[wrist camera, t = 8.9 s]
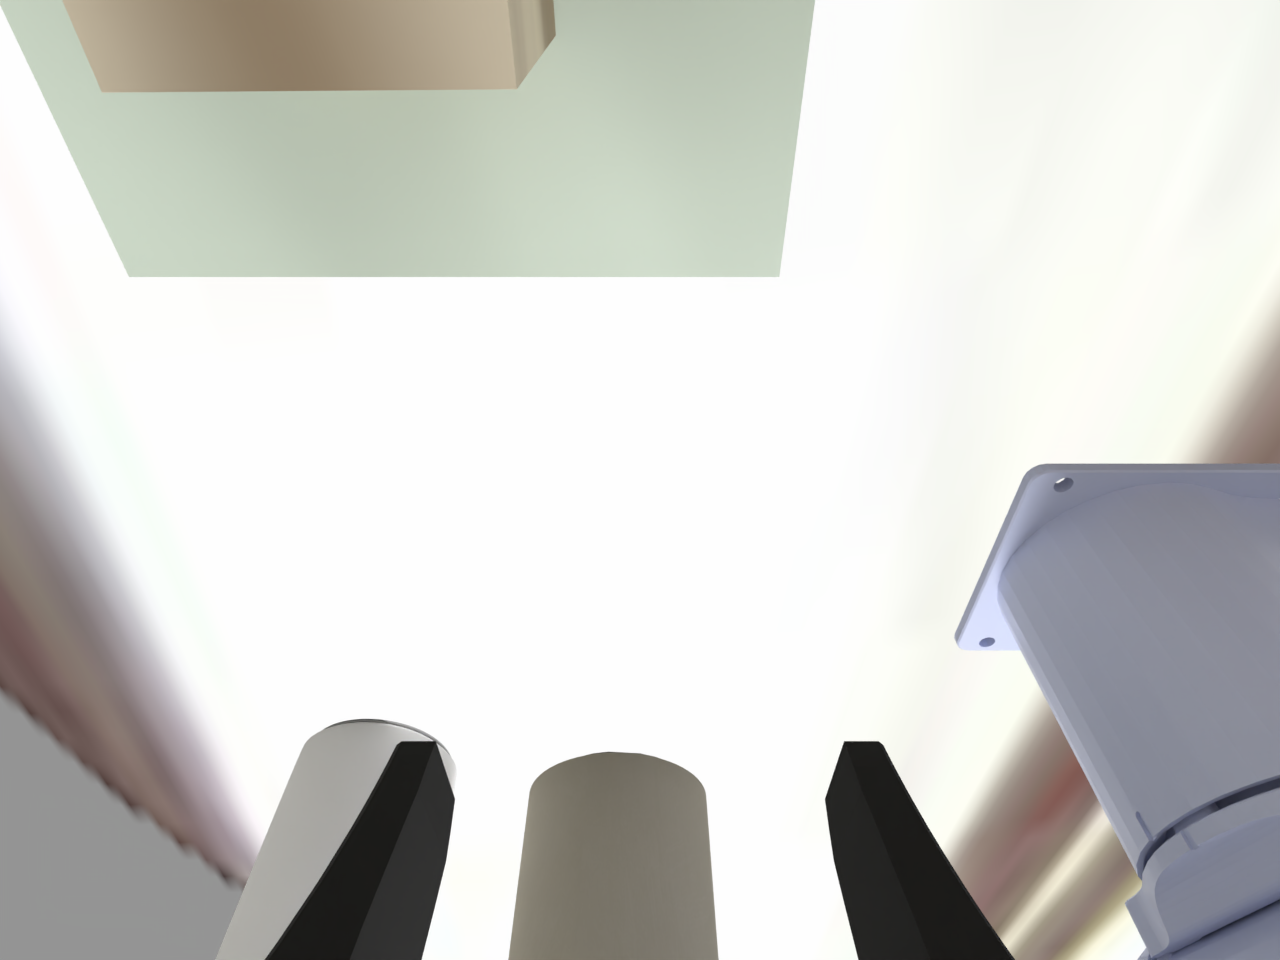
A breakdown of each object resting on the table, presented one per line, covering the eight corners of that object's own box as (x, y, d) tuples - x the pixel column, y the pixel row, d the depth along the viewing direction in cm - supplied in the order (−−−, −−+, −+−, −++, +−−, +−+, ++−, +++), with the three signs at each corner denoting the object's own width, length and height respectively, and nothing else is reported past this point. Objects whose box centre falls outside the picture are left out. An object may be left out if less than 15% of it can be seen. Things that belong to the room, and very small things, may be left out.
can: (280, 716, 28) (100, 1115, 19) (439, 710, 28) (338, 1111, 18) (334, 796, 32) (208, 1157, 23) (473, 792, 32) (404, 1155, 23)
